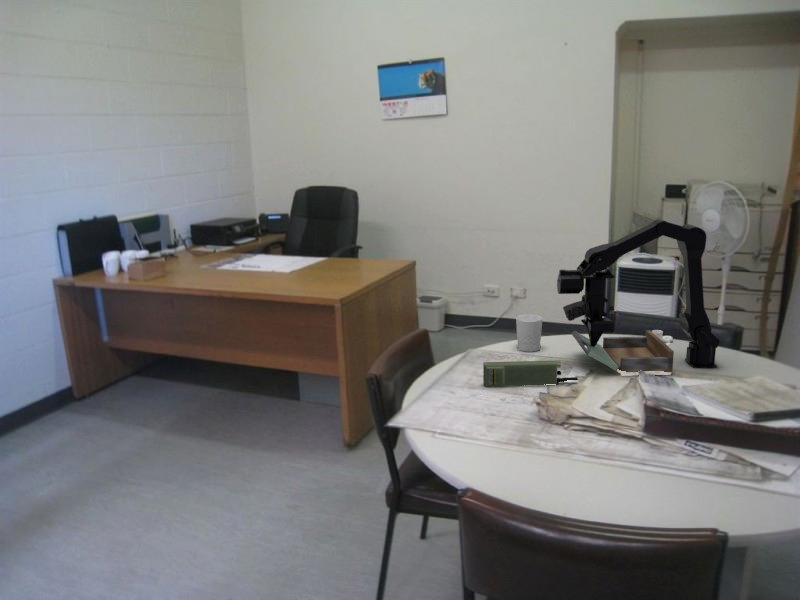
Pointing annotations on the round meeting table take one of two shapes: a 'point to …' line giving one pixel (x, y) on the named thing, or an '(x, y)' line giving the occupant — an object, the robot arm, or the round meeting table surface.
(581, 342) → the panel
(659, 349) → the brown and grey drawer
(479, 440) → the round meeting table surface
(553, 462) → the round meeting table surface
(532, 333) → the white cup
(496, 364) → the handheld radio
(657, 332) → the teacup and saucer
